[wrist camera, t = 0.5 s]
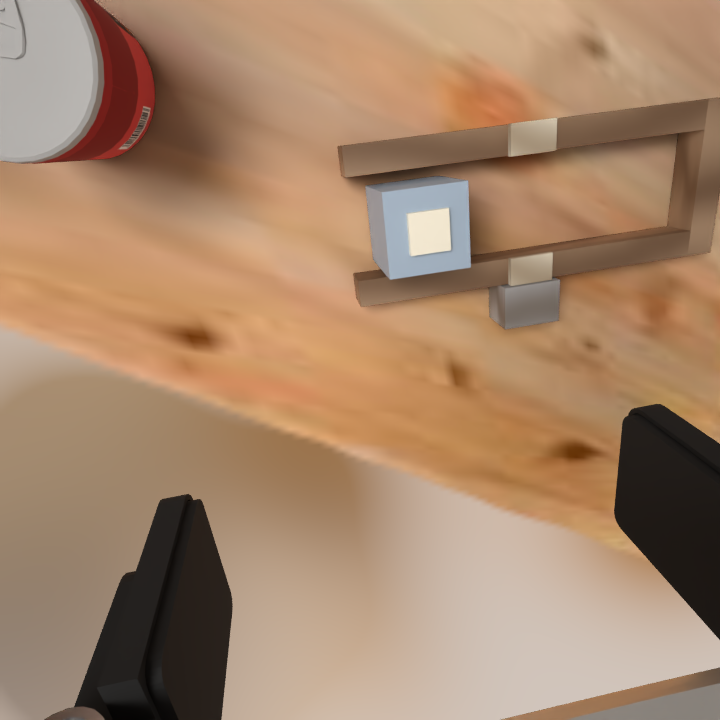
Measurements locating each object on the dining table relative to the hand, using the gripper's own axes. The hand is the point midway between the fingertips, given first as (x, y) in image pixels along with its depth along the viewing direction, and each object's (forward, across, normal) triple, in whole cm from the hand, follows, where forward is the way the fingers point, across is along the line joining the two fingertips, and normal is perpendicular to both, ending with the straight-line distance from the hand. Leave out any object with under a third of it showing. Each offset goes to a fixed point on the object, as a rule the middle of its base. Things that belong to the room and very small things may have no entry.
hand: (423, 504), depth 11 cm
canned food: (+27, +12, -12) cm, 32 cm away
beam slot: (+27, -15, 0) cm, 31 cm away
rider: (+27, -6, -2) cm, 28 cm away
